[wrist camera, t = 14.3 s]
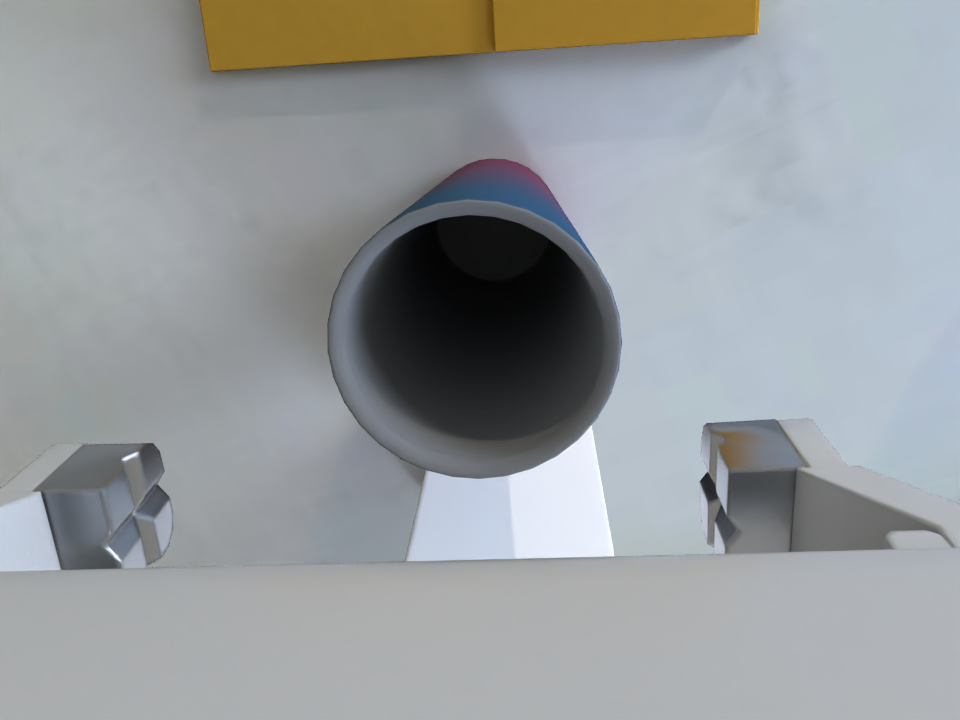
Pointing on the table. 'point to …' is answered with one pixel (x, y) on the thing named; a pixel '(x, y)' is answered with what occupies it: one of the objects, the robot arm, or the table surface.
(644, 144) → the table surface
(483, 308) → the cup
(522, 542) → the milk
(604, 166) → the table surface
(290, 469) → the table surface
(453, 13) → the cloth
